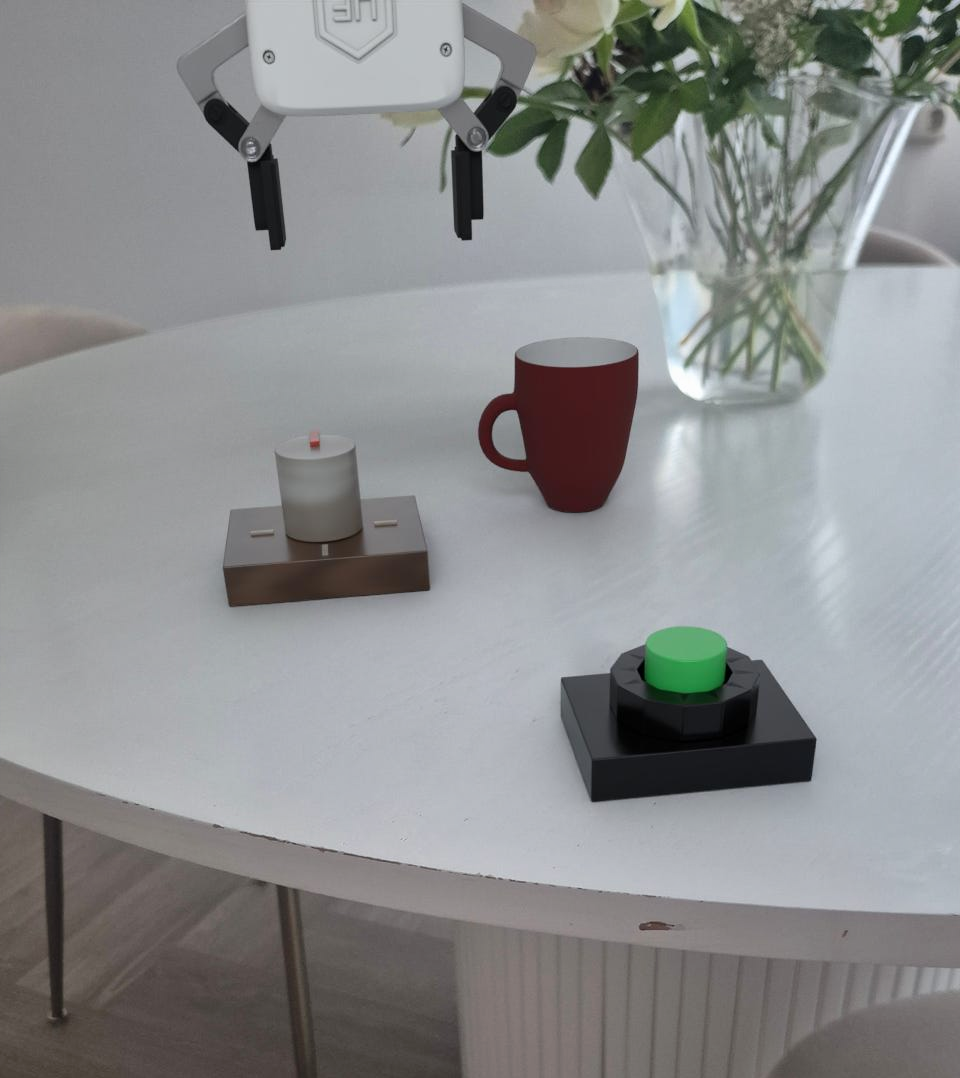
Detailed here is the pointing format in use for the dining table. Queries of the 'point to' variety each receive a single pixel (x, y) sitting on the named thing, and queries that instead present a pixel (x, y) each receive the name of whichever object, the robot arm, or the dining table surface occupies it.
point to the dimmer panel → (325, 556)
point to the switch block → (683, 731)
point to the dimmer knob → (319, 487)
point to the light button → (685, 659)
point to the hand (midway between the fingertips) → (371, 241)
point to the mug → (569, 417)
